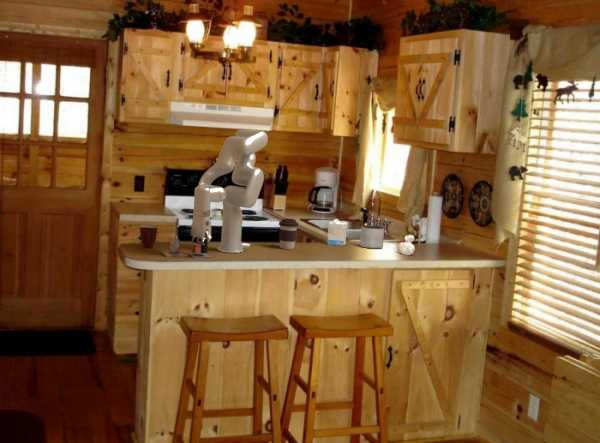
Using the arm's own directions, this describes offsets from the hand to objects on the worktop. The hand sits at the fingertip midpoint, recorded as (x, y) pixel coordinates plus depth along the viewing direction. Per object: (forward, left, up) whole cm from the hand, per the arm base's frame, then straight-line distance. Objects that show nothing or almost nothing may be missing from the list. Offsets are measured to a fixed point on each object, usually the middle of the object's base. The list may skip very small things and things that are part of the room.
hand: (199, 251), depth 378 cm
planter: (-104, -20, -2) cm, 106 cm away
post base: (+11, -3, -2) cm, 12 cm away
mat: (0, 0, -2) cm, 2 cm away
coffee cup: (-53, -18, -2) cm, 56 cm away
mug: (+18, -22, -2) cm, 29 cm away
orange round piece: (0, 0, 0) cm, 0 cm away
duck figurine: (-113, +1, -2) cm, 113 cm away
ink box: (-88, -30, -2) cm, 93 cm away
